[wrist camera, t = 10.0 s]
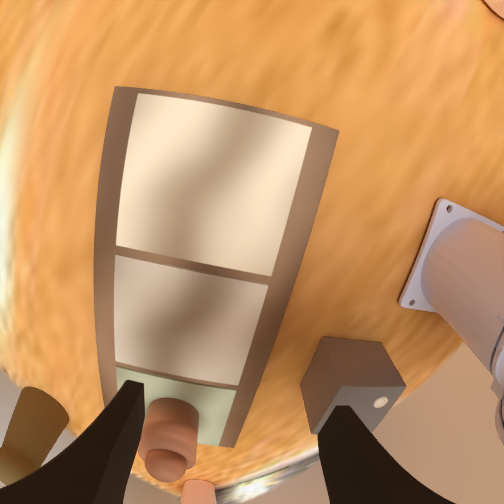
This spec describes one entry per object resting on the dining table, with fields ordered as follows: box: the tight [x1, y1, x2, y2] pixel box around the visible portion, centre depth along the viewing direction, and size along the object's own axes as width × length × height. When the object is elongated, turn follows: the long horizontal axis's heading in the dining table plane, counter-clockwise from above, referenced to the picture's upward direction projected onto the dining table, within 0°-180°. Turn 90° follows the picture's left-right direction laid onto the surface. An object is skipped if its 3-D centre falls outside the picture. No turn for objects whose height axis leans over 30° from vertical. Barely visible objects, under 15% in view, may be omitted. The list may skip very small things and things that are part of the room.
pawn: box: [138, 398, 199, 483], centre depth 19 cm, size 4×4×6 cm
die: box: [300, 336, 407, 434], centre depth 19 cm, size 5×5×5 cm
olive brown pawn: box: [0, 387, 69, 485], centre depth 18 cm, size 6×6×11 cm
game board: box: [94, 86, 339, 448], centre depth 19 cm, size 12×27×1 cm, turn 167°
